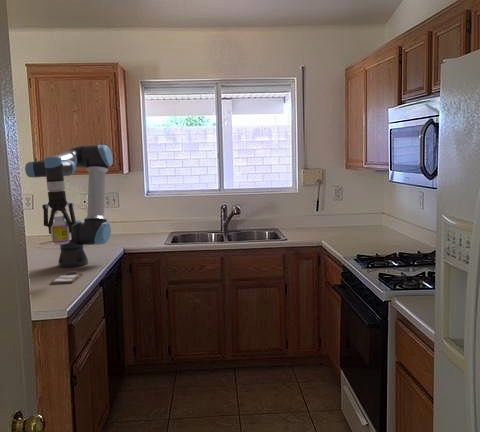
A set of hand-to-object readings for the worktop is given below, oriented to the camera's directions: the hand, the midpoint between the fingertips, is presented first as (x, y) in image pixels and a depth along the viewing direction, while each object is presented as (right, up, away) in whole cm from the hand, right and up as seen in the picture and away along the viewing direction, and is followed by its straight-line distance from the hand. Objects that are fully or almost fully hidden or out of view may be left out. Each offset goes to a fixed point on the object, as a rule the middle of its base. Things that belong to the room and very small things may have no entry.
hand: (61, 240), depth 238 cm
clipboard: (+1, -19, +5) cm, 19 cm away
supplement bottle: (0, -2, 0) cm, 2 cm away
